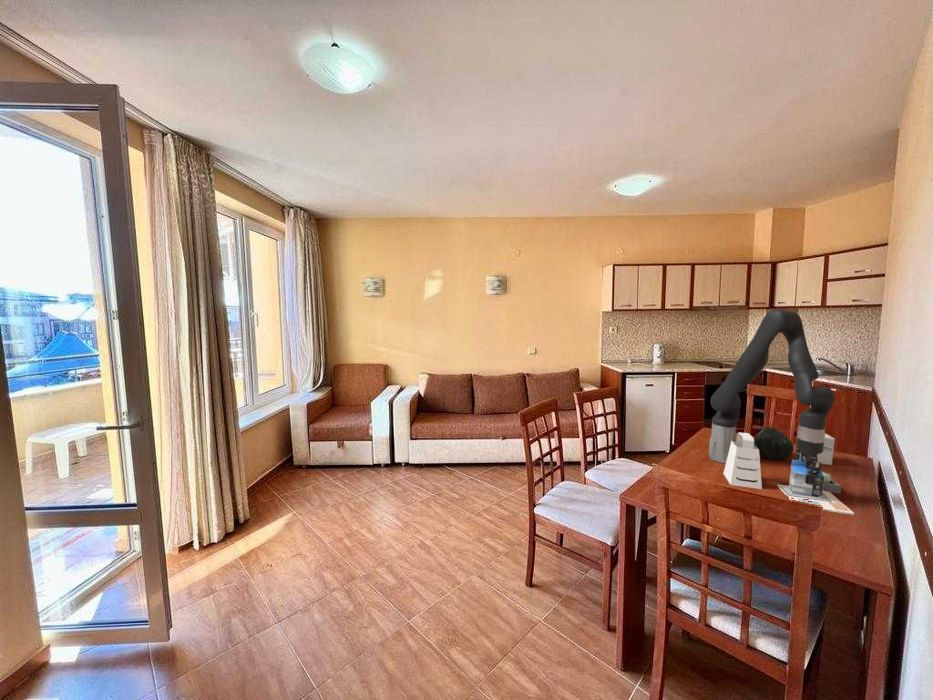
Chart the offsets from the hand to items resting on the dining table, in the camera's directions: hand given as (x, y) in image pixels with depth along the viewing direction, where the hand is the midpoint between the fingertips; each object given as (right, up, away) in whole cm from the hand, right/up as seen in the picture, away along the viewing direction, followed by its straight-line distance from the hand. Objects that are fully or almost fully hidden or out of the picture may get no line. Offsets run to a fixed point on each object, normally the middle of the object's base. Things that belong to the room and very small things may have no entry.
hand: (805, 480), depth 139 cm
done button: (+13, -3, +7) cm, 15 cm away
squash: (+17, -2, +36) cm, 40 cm away
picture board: (+1, -6, -2) cm, 7 cm away
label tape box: (0, -5, +1) cm, 5 cm away
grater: (-15, -5, +13) cm, 20 cm away
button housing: (+13, -5, +7) cm, 15 cm away
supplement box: (+34, -2, +30) cm, 46 cm away
